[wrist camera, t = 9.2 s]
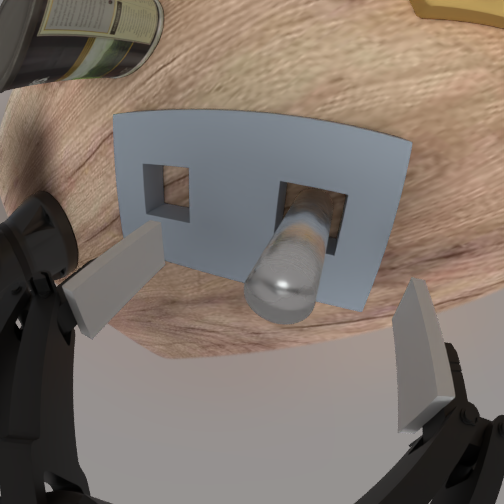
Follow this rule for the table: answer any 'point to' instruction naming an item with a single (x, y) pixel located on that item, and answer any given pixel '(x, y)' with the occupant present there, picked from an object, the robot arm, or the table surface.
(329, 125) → the socket board
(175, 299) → the table surface
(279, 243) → the pin
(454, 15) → the rubber stamp
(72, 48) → the coffee can
